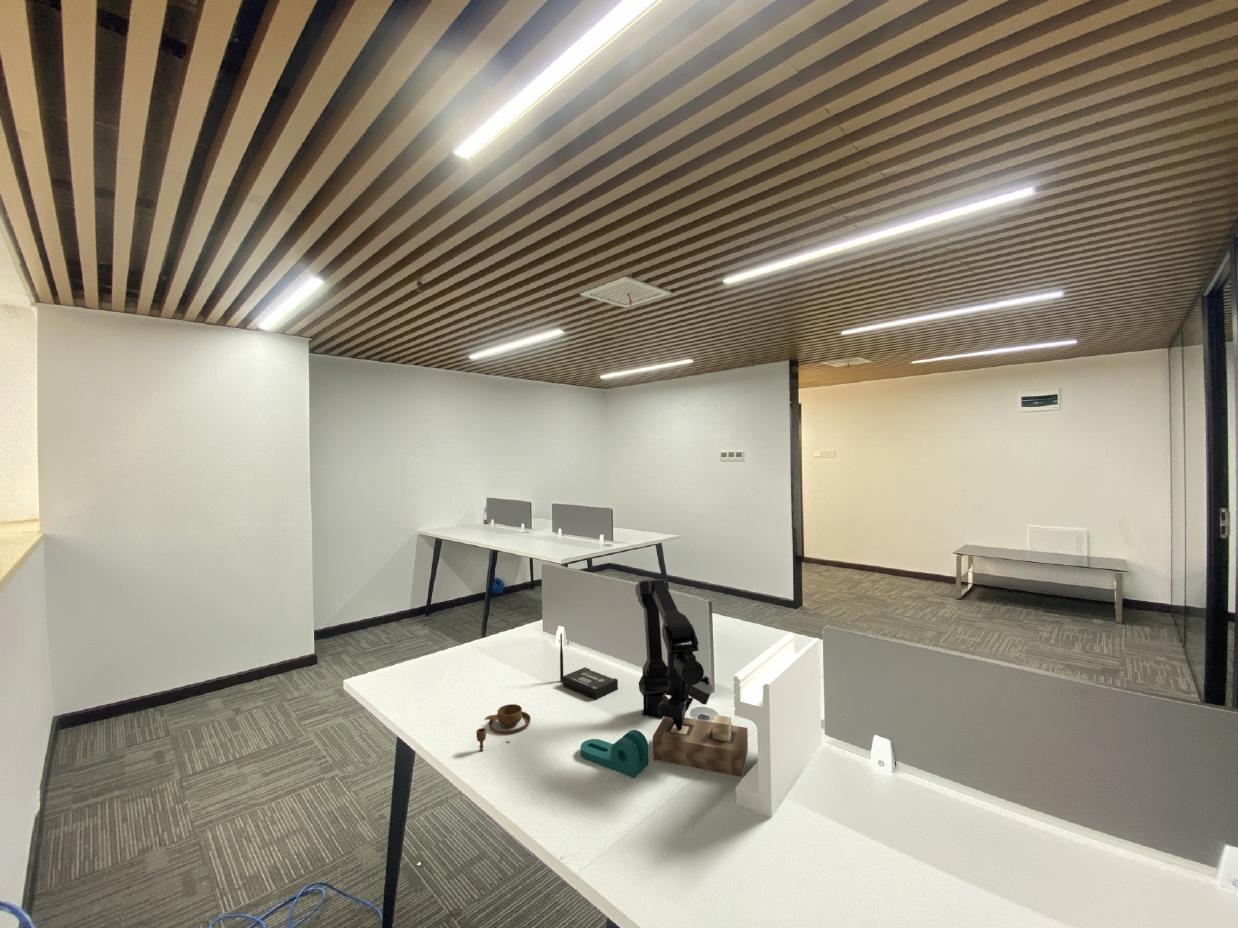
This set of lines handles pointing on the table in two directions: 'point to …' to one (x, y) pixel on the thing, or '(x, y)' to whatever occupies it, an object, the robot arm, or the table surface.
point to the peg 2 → (722, 728)
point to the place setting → (504, 722)
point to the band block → (701, 747)
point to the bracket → (619, 753)
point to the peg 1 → (683, 731)
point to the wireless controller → (587, 681)
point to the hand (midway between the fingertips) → (679, 729)
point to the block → (779, 720)
